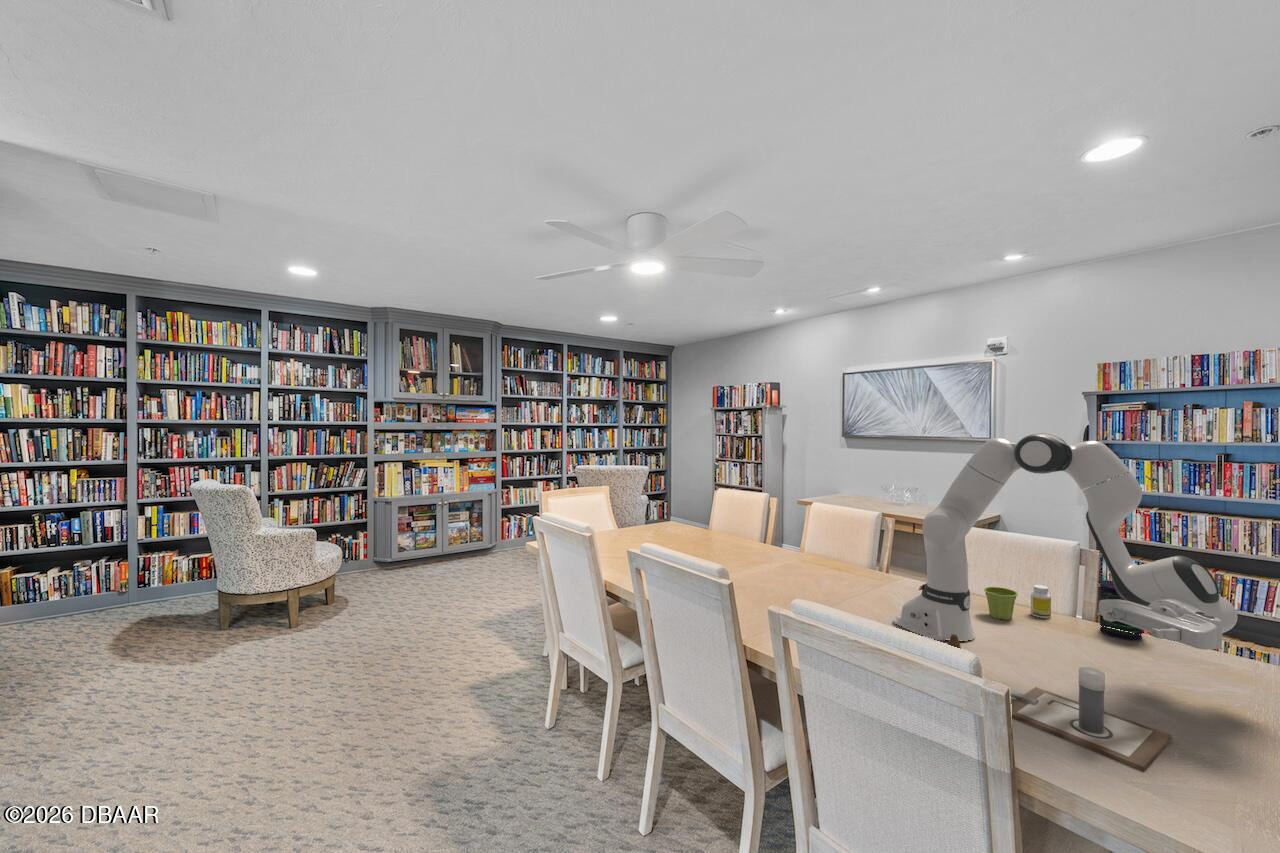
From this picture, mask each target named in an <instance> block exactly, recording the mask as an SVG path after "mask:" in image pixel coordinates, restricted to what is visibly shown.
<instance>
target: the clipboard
mask: <svg viewBox="0 0 1280 853" xmlns="http://www.w3.org/2000/svg"><path fill="white" fill-rule="evenodd" d="M1010 693H1011V698H1013V699H1015V700H1013V701H1012V702H1011V703H1012V717H1011V718H1012V719H1015V720H1017V721H1019V722H1021V723H1025V724H1027V725H1030V726H1032V727H1034V728H1036V729H1039V730H1041V731H1043V732H1046V733H1049V734H1052V735H1054V736H1056V737H1059V738H1061V739H1064V740H1067V741H1069V742H1071V743H1073V744H1075V745H1079V746H1081V747H1083V748H1086V749H1088V750H1091V751H1093V752H1095V753H1098V754H1101V755H1103V756H1105V757H1108V758H1110V759H1113V760H1115V761H1117V762H1120V763H1122V764H1125V765H1127V766H1130V767H1132V768H1134V769H1137V770H1139V771H1143V772H1144V771H1145V770H1146V769H1147V768H1148V767H1149V766H1150V765H1151V764H1152V763H1153V761H1154V760H1155V759H1156V758H1157V757H1158V756H1159V755H1160V754H1161V752H1162V751H1163V750H1164V749H1165V748H1166V746H1167V745H1168V744H1169V742H1171V741H1170V740H1172V739H1173V738H1172V737H1173V735H1172V734H1169V733H1167V732H1165V731H1161V730H1158V729H1155V728H1153V727H1150V726H1146V725H1144V724H1141V723H1139V722H1135V721H1132V720H1129V719H1127V718H1124V717H1121V716H1118V715H1116V714H1113V713H1109V712H1107V711H1105V710H1104V733H1102V734H1094V733H1090V732H1087V731H1085V730H1083V729H1082V728H1080V727H1079V701H1076V700H1073V699H1070V698H1068V697H1066V696H1065V697H1064V696H1063V695H1059V694H1056V693H1054V692H1051V691H1049V690H1046V689H1043V688H1040V687H1037V686H1035V687H1034V688H1032V689H1031V690H1029V691H1028V692H1026V693H1021V692H1019V691H1016V690H1012V691H1011V692H1010ZM1162 749H1163V750H1162Z"/></svg>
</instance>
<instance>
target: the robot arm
mask: <svg viewBox="0 0 1280 853" xmlns="http://www.w3.org/2000/svg"><path fill="white" fill-rule="evenodd" d="M1020 469H1023V470H1024V471H1026V472H1029V473H1032V474H1040V475H1041V474H1043V475H1046V474H1050V473H1051V474H1052V473H1056V472H1064V473H1066V474H1068V475H1069V476H1070V477H1071V478H1072V479H1073V480H1074V482H1075V483H1076V484H1077V486H1078V487H1079V489H1080V490H1081V491H1082V493H1083V494H1084V497H1085V499H1086V503H1087V507H1088V508H1087V509H1088V510H1087V511H1086V513H1085V519H1086V522H1087V526H1088V527H1089V530H1090V532H1091V535H1092V537H1093V539H1094V540H1095V543H1096V545H1097V548H1098V549H1099V551H1100V553H1101V556H1102V557H1103V560H1104V562H1105V564H1106V566H1107V568H1108V570H1109V573H1110V576H1111V579H1112V580H1111V581H1113V583H1114V586H1115V589H1116V591H1117V593H1118V594H1119V595H1120V596H1121V597H1122V598H1123V599H1124V600H1119V599H1108V600H1100V599H1099V603H1098V615H1102V616H1103V619H1104V620H1107V621H1110V622H1112V621H1115V620H1116V621H1119V622H1122V623H1125V624H1128V625H1131V626H1134V627H1136V628H1139V629H1142V631H1146V632H1149V633H1150V636H1151V637H1153V638H1156V639H1159V640H1161V639H1166V640H1169V641H1174V642H1177V643H1180V644H1183V645H1186V646H1190V647H1192V648H1194V649H1198V650H1199V649H1200V650H1219V649H1221V647H1222V642H1223V633H1226V632H1228V631H1231V630H1232V629H1233V628H1234V627H1235V625H1236V624H1237V621H1238V613H1237V610H1236V609H1235V607H1234V605H1233V604H1232V603H1231V602H1230V601H1228V600H1227V599H1225V597H1223V596H1222V595H1220V590H1219V586H1218V584H1217V582H1216V580H1215V578H1214V576H1213V575H1212V573H1211V572H1210V571H1209V569H1208V568H1207V567H1205V566H1204V565H1202V564H1201V563H1199V562H1197V561H1196V560H1194V559H1192V558H1190V557H1186V556H1184V555H1175V556H1170V557H1166V558H1161V559H1157V560H1155V561H1149V562H1146V563H1141V564H1137V563H1135V562H1134V561H1133V558H1132V557H1131V555H1130V553H1129V551H1128V549H1127V547H1126V545H1125V543H1124V541H1123V539H1122V537H1121V534H1120V526H1121V524H1122V523H1123V521H1124V520H1125V519H1126V518H1128V516H1130V515H1131V514H1132V513H1133V512H1134V511H1135V510H1136V509H1138V507H1139V505H1140V503H1141V501H1142V499H1143V489H1142V486H1141V484H1140V482H1139V481H1138V479H1137V478H1136V477H1135V476H1134V475H1133V473H1132V472H1131V471H1130V469H1129V468H1128V466H1127V465H1126V464H1125V463H1124V462H1123V461H1122V460H1121V458H1119V456H1118V455H1117V454H1115V453H1114V452H1113V450H1112V449H1111V448H1109V447H1108V446H1107V445H1106V444H1105V443H1103V442H1101V441H1098V440H1084V441H1081V442H1079V443H1075V444H1072V445H1070V444H1067V443H1066V441H1065V440H1064V439H1062V438H1060V437H1058V436H1056V435H1053V434H1052V433H1051V434H1049V433H1034V434H1029V435H1027V436H1024V437H1023V438H1021V439H1020V440H1019V441H1018V442H1012V441H1010V440H1007V439H1005V438H999V437H993V438H989V439H988V440H986V441H985V443H983V444H982V445H981V446H980V447H978V449H977V450H976V451H975V453H973V455H971V457H970V459H969V460H968V461H967V462H966V463H965V465H964V467H963V468H962V469H961V471H960V472H959V473H958V474H957V476H956V478H954V480H953V482H952V483H951V485H950V486H949V488H948V490H946V491H947V492H946V493H945V495H944V496H943V498H942V500H940V502H939V504H938V505H937V507H935V509H933V510H932V511H931V512H929V513H928V514H926V516H924V518H923V522H922V529H921V531H922V534H923V540H924V541H923V544H924V549H925V556H926V583H924V584H922V585H920V586H919V587H918V591H921V594H918V596H915V597H914V598H911V599H910V600H908V601H906V602H905V603H904V604H903V605H902V608H901V612H900V614H899V615H897V616H895V617H894V618H893V621H892V622H893V624H894V625H896V624H897V625H896V626H898V625H899V626H898V627H901V626H902V627H901V628H903V629H905V630H906V631H910V632H912V633H914V634H917V635H919V634H920V635H919V636H921V635H923V636H922V637H924V636H927V637H929V638H933V639H935V640H934V641H945V640H946V639H950V637H951V635H952V634H954V635H957V637H958V640H959V641H960V640H962V641H965V642H969V641H968V640H971V641H973V640H974V639H975V638H976V636H975V633H974V630H973V624H972V621H971V617H970V616H971V614H970V608H971V592H970V591H971V590H970V589H969V562H968V556H967V548H966V536H967V535H968V534H969V532H970V531H971V530H972V529H973V527H974V526H975V524H976V523H977V521H978V520H979V519H980V518H981V517H982V515H983V514H984V512H985V511H986V510H987V508H988V507H989V505H990V504H991V502H992V501H993V500H994V499H995V497H996V496H997V495H998V494H999V493H1000V491H1001V489H1002V488H1003V487H1004V486H1005V484H1006V483H1007V481H1008V480H1009V479H1010V478H1011V476H1012V475H1013V474H1014V473H1016V472H1017V471H1018V470H1020ZM913 630H914V631H913ZM943 639H945V640H943Z"/></svg>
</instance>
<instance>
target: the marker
mask: <svg viewBox="0 0 1280 853" xmlns="http://www.w3.org/2000/svg"><path fill="white" fill-rule="evenodd" d="M1105 683H1106V674H1105V672H1103V671H1101V670H1099V669H1096V668H1092V667H1086V666H1081V667H1079V668H1078V702H1079V727H1080V728H1082V729H1083V730H1085V731H1087V732H1090V733H1094V734H1102V733H1104V711H1105V690H1106V688H1105V687H1106V684H1105Z"/></svg>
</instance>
